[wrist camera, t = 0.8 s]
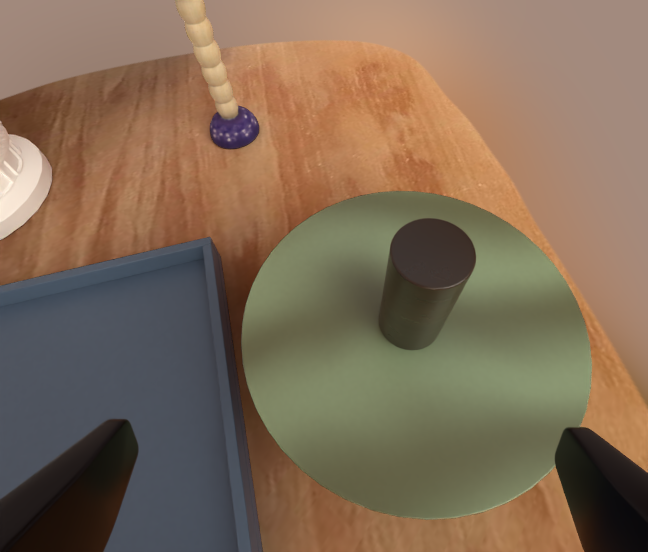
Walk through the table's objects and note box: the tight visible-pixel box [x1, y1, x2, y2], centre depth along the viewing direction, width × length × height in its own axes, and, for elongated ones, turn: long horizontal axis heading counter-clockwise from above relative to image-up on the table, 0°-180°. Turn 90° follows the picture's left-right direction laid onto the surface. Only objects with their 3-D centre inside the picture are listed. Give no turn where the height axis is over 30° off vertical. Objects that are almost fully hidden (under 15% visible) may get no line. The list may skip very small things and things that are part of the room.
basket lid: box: [241, 191, 592, 520], centre depth 16 cm, size 16×16×7 cm
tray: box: [0, 237, 263, 552], centre depth 22 cm, size 21×21×2 cm
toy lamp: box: [175, 0, 259, 149], centre depth 27 cm, size 5×5×17 cm
